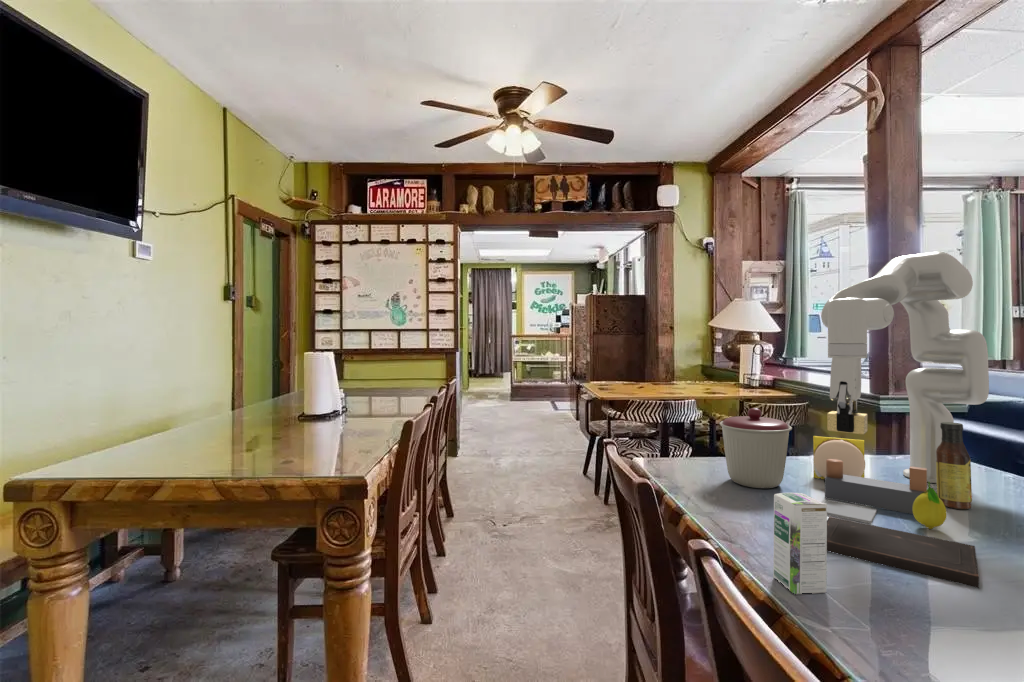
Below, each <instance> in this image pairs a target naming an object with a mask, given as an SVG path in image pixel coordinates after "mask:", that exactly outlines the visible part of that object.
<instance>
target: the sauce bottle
mask: <svg viewBox="0 0 1024 682" xmlns="http://www.w3.org/2000/svg"><path fill="white" fill-rule="evenodd" d="M940 427H941V429H942V438H941V439H942V442H941V444H940V445H939V446H938V448H937V450H936V459H937V461H936V479H937V483H936V493H937V495H938V498H940V499H941V500H942V502H943V503H944V505H945V508H950V509H955V510H968V509H971V508H972V501H973V492H972V490H973V489H972V469H971V468H972V467H971V466H972V465H971V464H972V463H971V462H972V461H971V456H970V455H969V452H968V450H967V448H966V445H965V444H964V438H963V431H964V425H963V423H960V422H954V423H953V422H942V423H941V425H940Z"/></svg>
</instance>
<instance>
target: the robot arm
mask: <svg viewBox="0 0 1024 682" xmlns="http://www.w3.org/2000/svg"><path fill="white" fill-rule="evenodd" d="M972 289H973V277H972V274H971V272H970V271H969V269H968V268H967V267H966V266H965V265H964V264H962V263H961V262H960V261H959V260H958V259H957V258H956V257H955V256H953V255H951V254H949V253H948V252H944V251H933V252H924V253H923V252H922V253H916V254H907V255H901V256H898V257H897V256H896V257H894V258H892V259H890V260H889V261H888V262H887V263H885V265H884V266H883V267H881V269H880V270H879V271H878V272H877V273H875V274H874V276H873V277H870V278H868V279H865V280H863V281H860V282H858V283H855V284H852V285H850V286H847V287H845V288H843V289H841V290H838V291H837V292H835V293H834V294H833V295H832V296H831V297H830V298H829V299H828V300H827V301H826V303H825V304H824V305H823V307H822V310H821V315H820V316H821V317H820V319H821V323H823V324H822V325H824V327H825V328H827V358H828V359H831V364H830V365H831V366H830V380H829V381H830V382H829V399H830V400H831V401H836V400H837V407H836V411H837V431H841V432H840V433H847V432H851V433H850V434H853V433H852V432H854V415H852V413H859V412H858V399H860V398H861V395H862V359H867V358H868V331H877V330H882V329H885V328H886V327H888V326H890V325H891V323H892V322H893V319H894V316H895V312H894V311H895V310H894V308H893V305H896V304H898V303H900V304H901V305H902V306H903V307H904V309H905V311H906V312H907V315H908V319H909V320H908V321H909V338H910V339H909V340H910V352H911V356H912V358H913V360H915V361H917V362H918V363H924V364H932V365H933V364H934V365H935V364H936V365H959V366H960V367H961V368H960V369H959V368H947V367H946V368H942V367H921V368H916V369H912V370H910V371H909V372H908V373H907V375H906V376H905V389H906V394H907V398H908V405H909V467H910V466H912V467H919V468H926V469H927V483H928V482H930V484H931V483H932V484H937V479H936V461H937V459H936V450H937V448H938V446H939V445H940V444H941V442H942V439H941V438H942V429H941V427H940V425H941V423H942V422H953V423H955V421H954V417H953V415H952V413H951V412H950V411H949V409H948V408H947V407H946V406H945V404H959V405H960V404H961V405H971V406H972V405H975V406H977V405H981V404H984V403H985V402H986V401H987V399H988V398H989V393H990V379H989V378H990V377H989V374H990V373H989V372H990V371H989V354H988V353H989V351H988V344H987V340H986V337H985V336H984V335H983V334H982V333H981V332H980V331H978V330H973V329H951V328H950V323H949V322H950V321H949V311H948V309H947V308H946V307H945V305H943V304H942V303H941V302H940V301H947V300H959V299H963V298H965V297H967V296H968V295H969V294H970V293H971V291H972ZM943 403H944V404H943ZM837 431H836V432H837ZM902 472H903V475H904V476H905V477H906V478H909V468H905V469H903V471H902Z"/></svg>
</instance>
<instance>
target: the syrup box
mask: <svg viewBox="0 0 1024 682" xmlns="http://www.w3.org/2000/svg"><path fill="white" fill-rule="evenodd" d="M827 520H828V515H827V504H825V503H824V502H821V501H819V500H817V499H815V498H812V497H810V496H808V495H807V494H806V493H801V492H780V493H774V494H773V555H772V556H773V559H772V560H773V563H772V564H773V565H772V566H773V568H772V569H773V572H772V573H773V574H772V575H773V579H774V578H776V579H777V580H778V582H779V583H780V582H781V583H782V584H783V585H784V586H783V585H782V584H781V583H780V584H781V585H782V586H783V587H784V588H786V589H787V588H788V589H789V592H791V593H792V594H793V593H794V594H793V595H795V594H796V595H803V594H802V593H812V594H823V593H824V594H825V593H827V585H828V584H827V577H828V575H827V572H828V571H827V561H828V559H827V558H828V557H827V556H828V551H827ZM777 580H776V581H777ZM788 589H787V590H788Z"/></svg>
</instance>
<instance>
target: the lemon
mask: <svg viewBox="0 0 1024 682" xmlns="http://www.w3.org/2000/svg"><path fill="white" fill-rule="evenodd" d="M930 484H931V483H930V482H927V487H928V489H927V491H925V492H923V493H921V494H920V495H919V496H918V497H917V498H916V499H915V501H914V503H913V514H912V515H913V517H914V519H915V520H916V521H917V522H918V523H919V524H921V525H922V526H924V527H926V528H927V529H929V530H932V529H933V528H936V527H940V526H942V525H943V524H945V522H946V519H947V515H948V514H947V507H946V506H945V505H944V503H943V502H942V500H941V499H940V498H938V495H937V491H936V490H935V488H932V487H931V485H930Z"/></svg>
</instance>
